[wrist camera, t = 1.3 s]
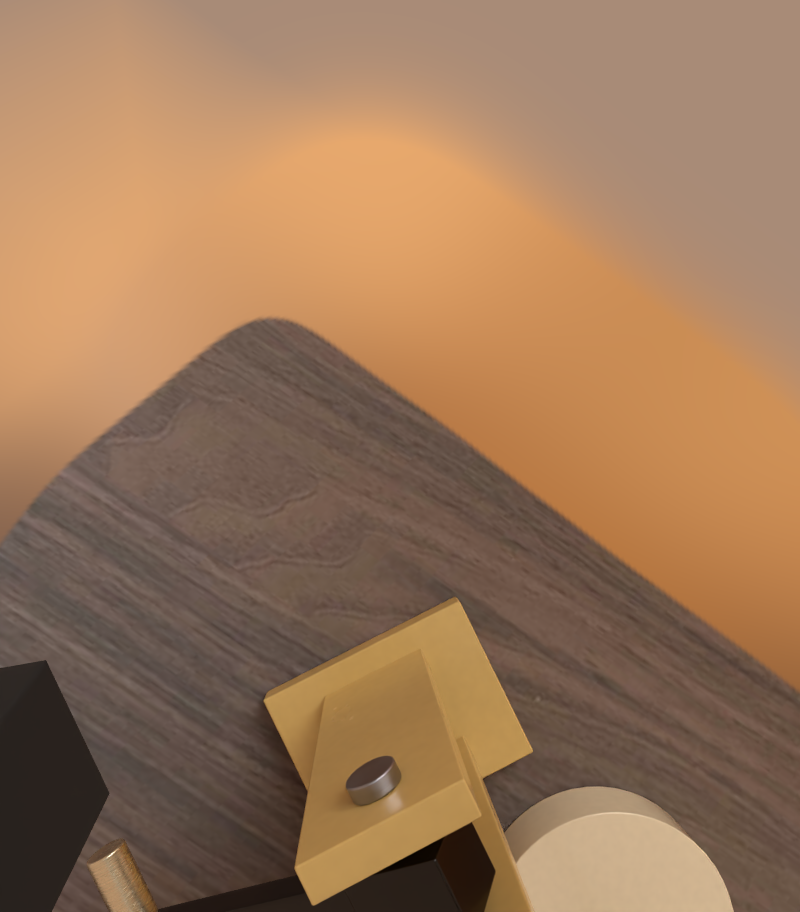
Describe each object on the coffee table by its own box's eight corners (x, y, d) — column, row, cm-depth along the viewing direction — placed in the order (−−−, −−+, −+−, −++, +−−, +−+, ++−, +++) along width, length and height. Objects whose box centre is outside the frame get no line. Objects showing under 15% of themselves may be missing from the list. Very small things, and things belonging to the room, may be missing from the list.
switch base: (339, 840, 30) (317, 1154, 16) (266, 691, 30) (182, 876, 16) (527, 741, 30) (664, 963, 16) (455, 595, 30) (532, 695, 16)
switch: (199, 994, 23) (150, 1064, 21) (118, 829, 23) (61, 882, 21) (529, 936, 19) (512, 1018, 16) (429, 732, 19) (399, 786, 16)
